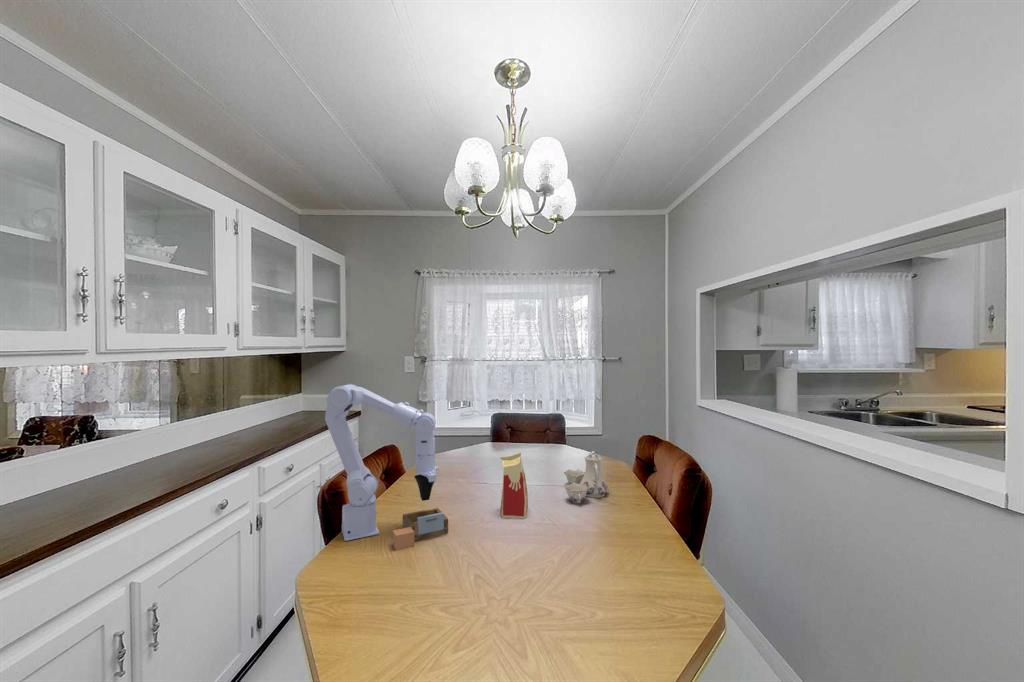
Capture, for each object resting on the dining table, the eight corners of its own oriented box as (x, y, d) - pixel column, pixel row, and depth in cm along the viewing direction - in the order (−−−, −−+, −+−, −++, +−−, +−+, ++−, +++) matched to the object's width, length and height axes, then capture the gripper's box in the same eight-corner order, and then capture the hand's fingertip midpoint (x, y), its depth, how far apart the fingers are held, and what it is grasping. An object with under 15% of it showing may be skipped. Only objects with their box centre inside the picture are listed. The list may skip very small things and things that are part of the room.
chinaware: (561, 485, 167) (556, 445, 167) (601, 481, 166) (597, 441, 167) (568, 512, 139) (563, 463, 139) (617, 507, 138) (611, 459, 139)
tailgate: (418, 535, 114) (418, 518, 114) (417, 533, 115) (417, 517, 115) (444, 529, 117) (444, 513, 118) (443, 528, 118) (443, 512, 119)
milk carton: (528, 508, 138) (527, 449, 139) (526, 519, 129) (526, 456, 130) (501, 507, 139) (501, 448, 140) (498, 518, 130) (497, 455, 130)
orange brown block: (395, 550, 109) (395, 535, 109) (392, 545, 112) (392, 530, 112) (414, 546, 111) (414, 531, 111) (410, 541, 115) (410, 526, 115)
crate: (412, 542, 113) (412, 528, 113) (402, 527, 123) (402, 514, 123) (449, 534, 118) (449, 520, 119) (437, 520, 128) (437, 507, 128)
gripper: (446, 457, 117) (446, 504, 117) (430, 447, 130) (430, 490, 130) (422, 460, 114) (422, 509, 114) (409, 450, 127) (408, 493, 126)
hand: (425, 499), depth 121 cm, fingers closed
